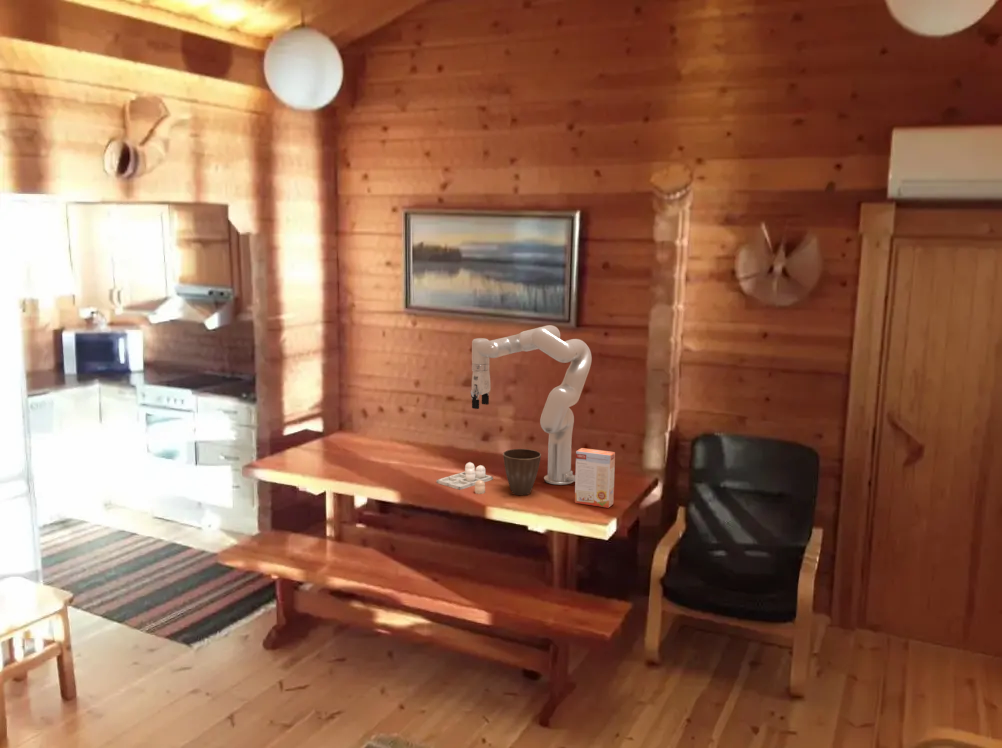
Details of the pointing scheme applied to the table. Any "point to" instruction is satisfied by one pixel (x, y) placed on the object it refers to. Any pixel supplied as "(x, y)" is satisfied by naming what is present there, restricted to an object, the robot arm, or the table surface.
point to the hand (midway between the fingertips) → (480, 406)
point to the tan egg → (479, 487)
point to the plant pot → (521, 469)
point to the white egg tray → (460, 481)
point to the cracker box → (594, 477)
